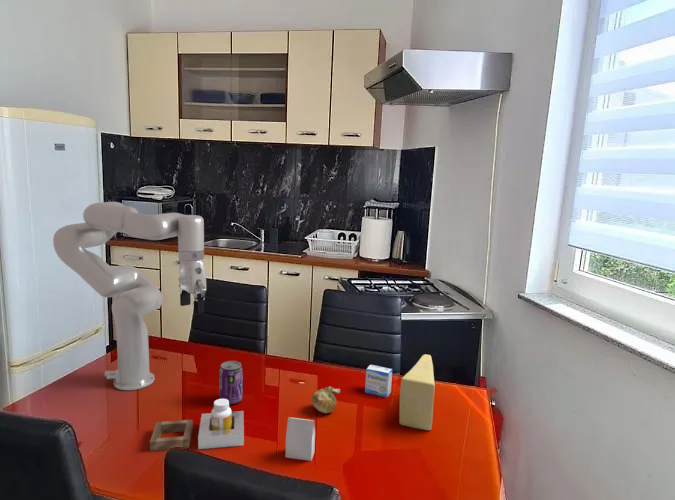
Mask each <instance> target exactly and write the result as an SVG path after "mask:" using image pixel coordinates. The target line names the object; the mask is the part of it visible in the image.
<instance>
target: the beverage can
mask: <svg viewBox="0 0 675 500" xmlns="http://www.w3.org/2000/svg"><path fill="white" fill-rule="evenodd" d="M242 367H243V366H242V363H241V362H239V361H237V360H228V361H224V362H222V363H221V364H220V369H219V371H218V373H219V377H218V382H219V383H218V385H219V386H218V389H219V394H218V395H219V396H218V397H219V399H227V400H228V401H229V406H231V405H235V404H237V403H239V402H241V401H242V400H243V381H244V380H243V377H244V376H243V368H242Z"/></svg>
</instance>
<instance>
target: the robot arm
mask: <svg viewBox="0 0 675 500" xmlns="http://www.w3.org/2000/svg"><path fill="white" fill-rule="evenodd" d="M82 213H83V214H82V218H83V220H84V222H80V223H72V224H69V225H68V224H66V225H64V226H62V227H60V228H58V229H57V230H56V231H55V233H54V235H53V239H52V241H53V248H54V251H55V253H56V255H57V257H58V258H59V260H61V261H62V262H63V264H64V265H66V266H67V267H69V268H70V269H71V270H73V271H74V272H75V273H76V274H77V275H78V276H79V277H80V278H81V279H82V280H84V282H86V284H88V285H89V286H90V287H91V288H92V289H93V290H94V291H95V292H96V293H97V294H98V295H99V296H101V297H102V298H113V297H115V298H114V299H113V301H112V304H111V313H112V316H113V319H114V325H115V333H116V334H115V335H116V349H117V369H115V370H105V371H104V377H105V378H106V380H113V386H114V388H115V389H117V390H121V391H137V390H141V389H144V388H146V387H149V386H150V385H152V384H153V383H154V381H155V374H154V373H152V372H150V352H149V351H150V349H149V329H148V326H147V323H146V322H145V320H144V316H146V315H148V314H151V313H153V312H155V311H157V310H158V309H159V308H161V306H162V304H163V302H164V301H163V300H164V299H163V298H164V297H163V295H162V292H161V290H160V289H159V288H158V286H156V284H155V283H153V282H152V281H151V280H150V279H149V278H148V277H147V276H146V275H145V274H144V273H142V272H141V271H140V270H139V269H138V268H137V267H135V266H133V265H131V264H120V265H116V266H113V265H109V264H108V263H107V262H106V261H104V259H103V258H102V257H101V256H100V255H97V254H96V253H94V252H92V251H89V250H87V248H88V249H89V248H93V247H98V246H102V245H104V244H105V243H107V242H109V241H110V239H112V238H113V237H114V235H116V234H117V233H124V234H126V235H128V236H130V237H132V238H136V239H143V240H149V241H159V240H160V241H161V240H165V239H170V238H175V237H177V240H178V241H177V247H178V249H177V250H178V262H179V271H178V273H179V276H178V283H179V285H178V287H179V297H180V298H179V299H180V300H179V304H180V307H186V306H190V305H191V302H192V301H191V300H192V299H191V295H192V296H193V299H194V300H193V305H192V306H193V314H195V315H197V314H202V313H203V314H204V312H205V300H206V299H205V298H206V292H207V273H206V265H205V262H204V261H205V223H204V222H205V221H204V218H203V217H202V216H201V215H195V214H183V213H179V212H166V213H164V212H163V213H160V214H159V213H158V214H157V213H156V214H146V213H139V211H138V210H137V208H135V207H133V206H127V205H124V204H123V203H121V202H118V201H106V202H103V201H102V202H95V203H91V204H89V205H88V206H86V207H85V209H84V211H83V212H82Z"/></svg>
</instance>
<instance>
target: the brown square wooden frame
mask: <svg viewBox="0 0 675 500" xmlns="http://www.w3.org/2000/svg"><path fill="white" fill-rule="evenodd" d="M193 421H194V420H193V419H183V420H180V419H179V420H169V421H156V422H155V425H154V429H153V432H152V434H151V438H150V440H149V451H150V452H155V451H166V450H168V449H169V448H171V447H176V446H178V447H185V448H184V449H189V448H190V446H191V439H192V433H193V430H194V429H193V428H194V427H193V426H194V422H193ZM177 432H178V433H181V432H184V434H183V436H171V437H161V436H162V434H164V433H166V434H168V433H177ZM169 450H170V449H169Z"/></svg>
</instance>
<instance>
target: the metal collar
mask: <svg viewBox="0 0 675 500" xmlns="http://www.w3.org/2000/svg"><path fill="white" fill-rule="evenodd" d="M231 412H232V429H226V430H213V431H211V412H209V413H208V412H207V413H201V417H200V423H199V430H198V435H197V442H198V443H197V445H198V447H197V449H198V450H207V449H218V448H231V447H240V446H241V447H242V446H244V445H245V425H244V423H245V420H244V418H245V417H244V416H245V415H244V413H245V412H244V410H240V411H239V410H238V411H231Z"/></svg>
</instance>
